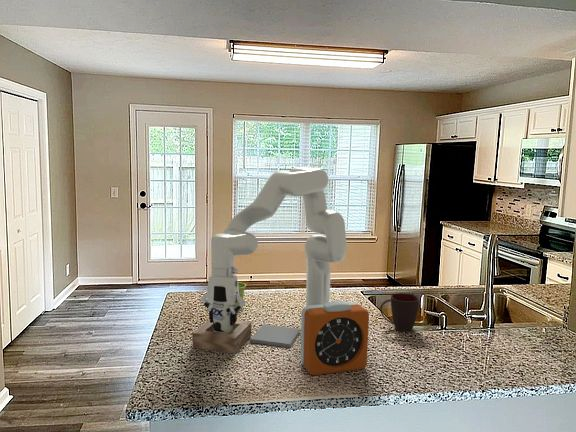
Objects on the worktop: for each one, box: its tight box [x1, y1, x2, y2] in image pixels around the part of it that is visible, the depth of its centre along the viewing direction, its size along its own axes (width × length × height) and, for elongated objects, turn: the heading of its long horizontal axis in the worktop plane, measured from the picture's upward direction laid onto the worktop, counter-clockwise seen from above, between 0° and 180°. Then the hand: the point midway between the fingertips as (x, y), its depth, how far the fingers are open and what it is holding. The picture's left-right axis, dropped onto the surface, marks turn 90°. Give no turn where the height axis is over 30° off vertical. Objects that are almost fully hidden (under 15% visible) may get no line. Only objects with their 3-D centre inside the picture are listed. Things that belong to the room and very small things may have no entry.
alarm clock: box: [300, 300, 370, 376], centre depth 135 cm, size 18×9×21 cm, turn 106°
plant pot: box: [236, 281, 247, 306], centre depth 190 cm, size 9×9×9 cm
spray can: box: [213, 286, 233, 334], centre depth 152 cm, size 7×7×20 cm
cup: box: [379, 292, 420, 333], centre depth 166 cm, size 10×14×12 cm
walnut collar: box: [191, 318, 252, 354], centre depth 153 cm, size 15×15×5 cm
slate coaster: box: [249, 323, 301, 348], centre depth 158 cm, size 14×14×1 cm
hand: (222, 322), depth 152 cm, fingers closed on spray can, 6 cm apart
